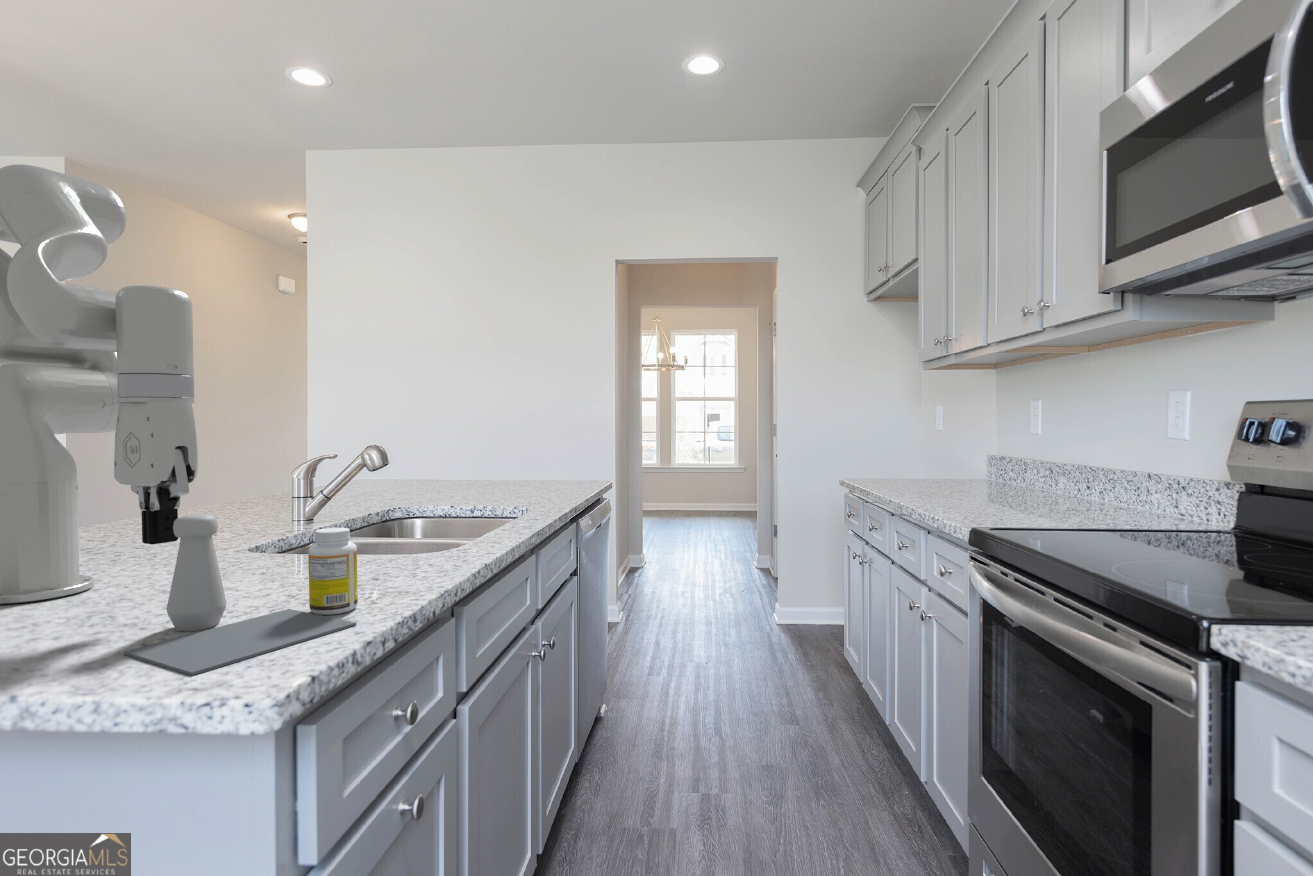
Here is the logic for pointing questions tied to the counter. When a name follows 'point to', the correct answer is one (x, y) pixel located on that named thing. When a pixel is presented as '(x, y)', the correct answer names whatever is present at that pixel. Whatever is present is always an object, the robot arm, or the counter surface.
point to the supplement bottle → (332, 572)
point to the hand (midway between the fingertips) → (160, 541)
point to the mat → (237, 641)
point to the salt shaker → (196, 576)
